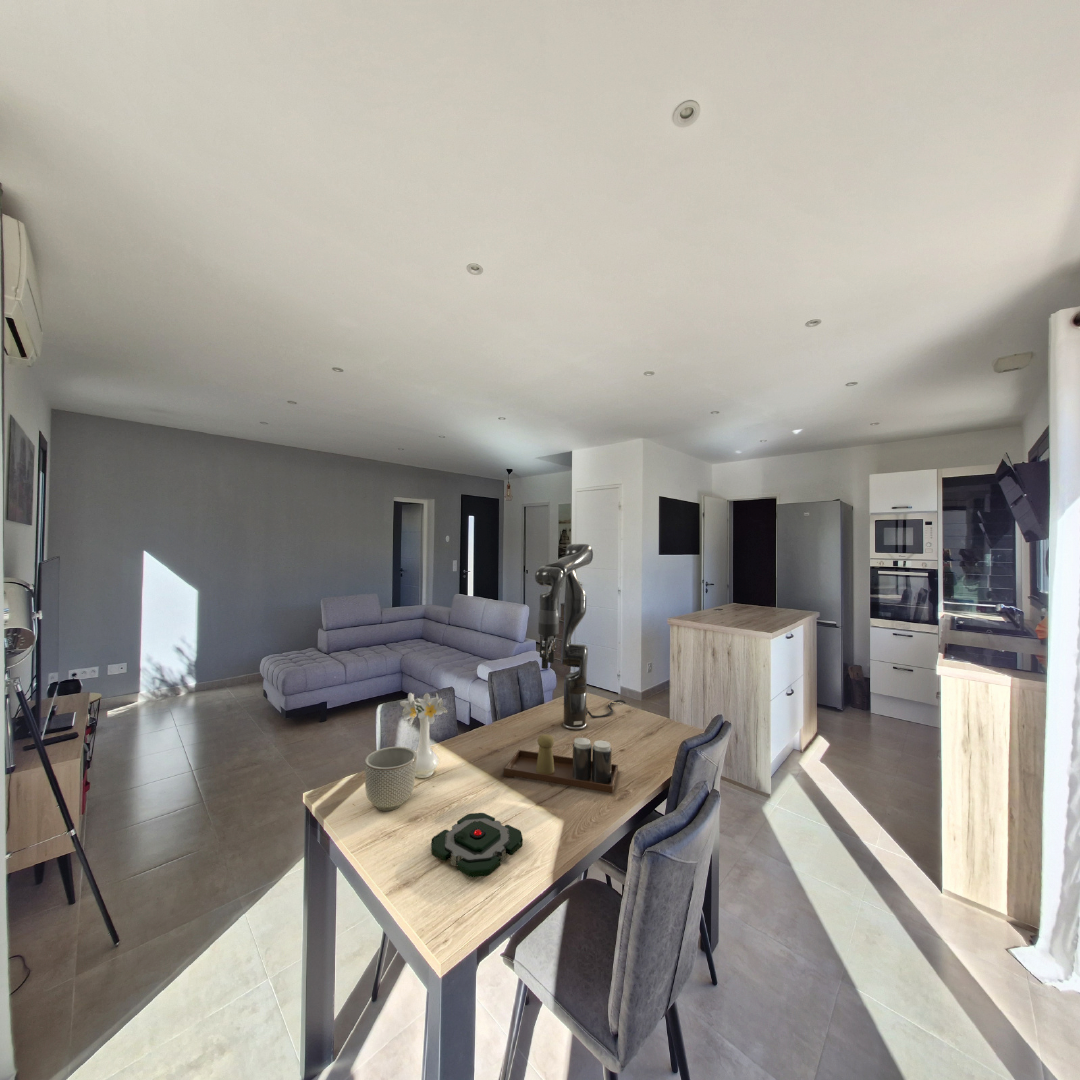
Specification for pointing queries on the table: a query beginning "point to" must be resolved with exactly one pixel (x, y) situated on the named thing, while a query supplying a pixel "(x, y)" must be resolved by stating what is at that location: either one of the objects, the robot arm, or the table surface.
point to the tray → (526, 768)
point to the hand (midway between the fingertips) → (547, 665)
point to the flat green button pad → (476, 844)
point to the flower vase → (424, 730)
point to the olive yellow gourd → (545, 754)
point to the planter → (390, 776)
